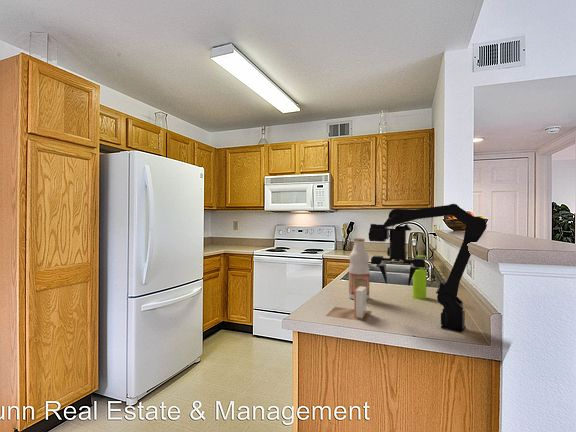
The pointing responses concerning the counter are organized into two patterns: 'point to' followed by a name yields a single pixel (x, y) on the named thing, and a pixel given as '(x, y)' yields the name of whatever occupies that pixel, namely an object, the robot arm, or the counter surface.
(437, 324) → the counter surface
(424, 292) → the soap dispenser
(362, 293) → the white box
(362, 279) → the fruit juice
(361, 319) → the board
